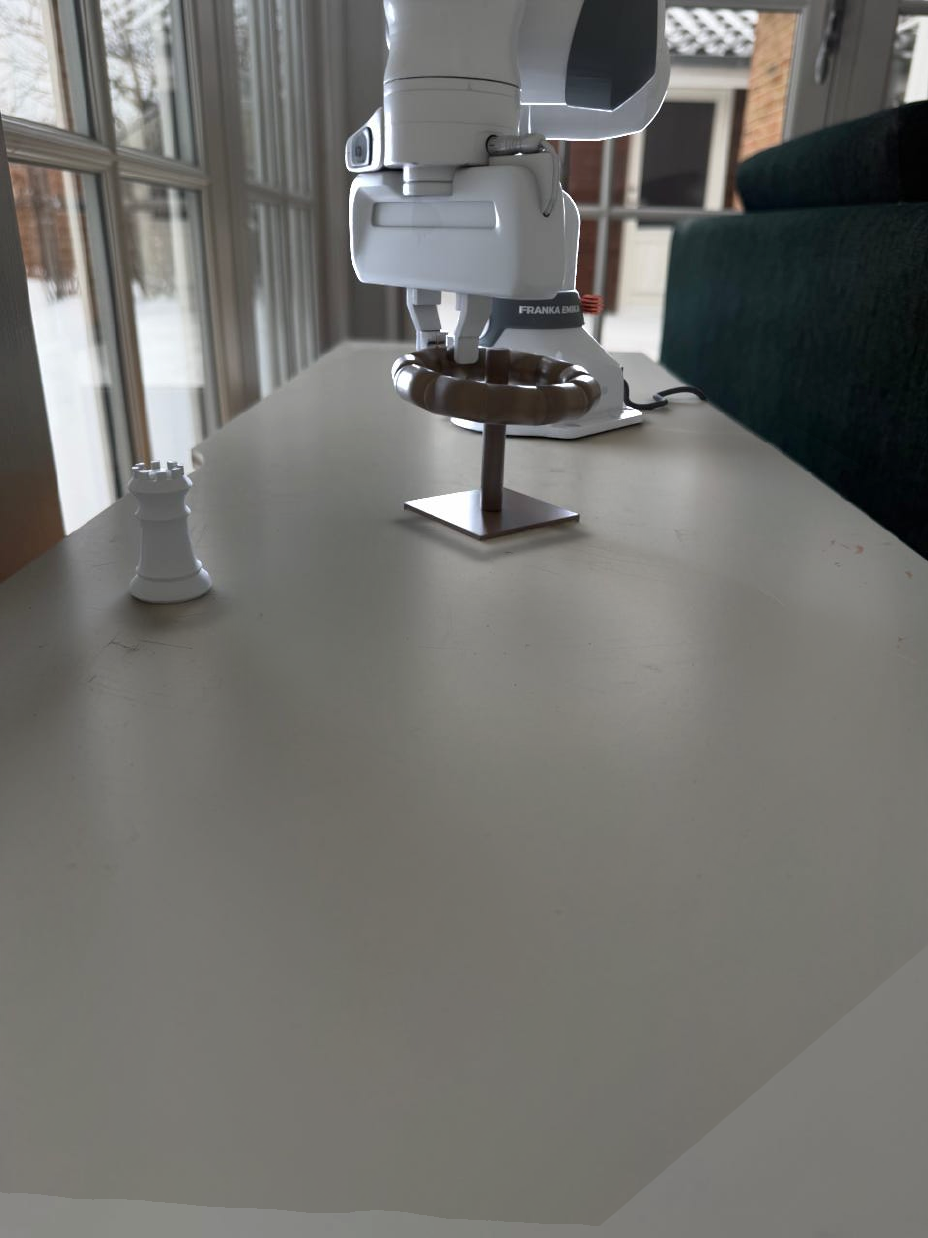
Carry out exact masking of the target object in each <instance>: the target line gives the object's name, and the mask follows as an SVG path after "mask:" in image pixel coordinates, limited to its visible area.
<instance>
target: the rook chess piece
mask: <svg viewBox="0 0 928 1238" xmlns="http://www.w3.org/2000/svg"><path fill="white" fill-rule="evenodd" d="M149 463H150V469H148V470H147V467H146V463H144V462H140V463H136V464H134V466H132V467H131V470H132V476H131V478H130V480H129V481H128V483H126V484H127V485H126V488H127V490H128V491H129V492H130V493H131V494H132V495H133V496H134V498H135V499H136V500H137V503H138V508H137V510H136V511H135V513H134V515H135V517H136V519H138V520H139V527H140V556H139V562H138V565H137V566H136V567H135V571H136V574H135V576H134V577H132V579H131V580H130V582H129V592H130V595H132V596H133V597H134V598H136V599H138V600H139V601H140V602H145V603H150V604H158V605H159V604H161V605H162V604H164V605H165V604H168V605H169V604H178V603H185V602H189V601H192V600H195V599H198V598H200V597H201V596H203V595H205V594H207V593H208V592H209V590H210V588H211V587H212V585H213V582H212V579H211V577H210V575H209V573H208V572H207V570H206V569H204V568H203V563H202V562H201V560H199V559H198V558H197V555H196V553H195V549H194V545H193V541H192V537H191V532H190V529H189V515H190V514H191V512H192V510H191V509H190V508H189V506H187V504H186V503H187V502H186V496H187V493H188V492H189V491H190V489H191V488H192V486H193V485H194V483H193V482H192V480H191V479H190V478H189V477H188V476H187V475H186V474H185V468H184V464H183V463H178V461H175V460H168V461H166V468H161V466H162V465H161V460H150V461H149Z"/></svg>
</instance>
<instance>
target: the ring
mask: <svg viewBox="0 0 928 1238" xmlns="http://www.w3.org/2000/svg"><path fill="white" fill-rule="evenodd" d="M446 351H447V347H438V348H425V349H421V350H418V351H417V350H415V351H412V352H410V353H407V354H403V355H401V356H400V357H398V358H397V359H396V360H395V362H394V363H393V365H392V368H391V377H392V382H393V387H394V391H395V392H396V394H397V396H398V397H399V398H400V399H402V400H403V401H405V402H407V403H409V404H411V405H414V406H415V407H418V408H420V409H422V410H424V411H427V412H428V413H431V414H434V415H437V416H443V417H448V418H457V419H462V420H467V421H472V422H477V423H483V424H500V425H519V426H540V425H548V424H557V423H565V422H572V421H576V420H578V419H580V418H581V417H583V416H584V415H585V414H587V413H588V412H589V411H591V410H592V409H593V408H595V407H596V406H597V404H598V403H599V401H600V398H601V388H600V385H599V384H598V382H597V381H596V380H595V379H594V378H593V377H592V376H591V375H590V374H589V373H588V372H587V371H586V370H584V369H583V368H582V367H580V366H577V365H574V364H571V363H568V362H565V361H562V360H559V359H555V358H552V357H549V356H544V355H538V354H532V353H527V352H521V351H515V350H510V359H509V380H508V384H511V385H503V384H487V383H482V382H485V360H486V348H483V347H479V354H478V360H477V361H476V362H475V363H469V364H460V363H455V362H451V361H449V360H448V359H447V357H446ZM476 381H479V382H476Z"/></svg>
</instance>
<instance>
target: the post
mask: <svg viewBox="0 0 928 1238" xmlns="http://www.w3.org/2000/svg"><path fill="white" fill-rule="evenodd" d="M509 359H510V349H508V348H502V347H490V348H486V360H485V383H487V384H503V385H508V380H509ZM506 437H507V434H506V425H500V424H483V432H482V437H481V438H482V439H481V440H482V441H481V463H480V464H481V467H480V468H481V469H480V488H479V489H472V490H467V491H462V492H456V493H449V494H444V495H439V496H432V497H428V498H427V497H426V498H422V499H417V500H412V501H411V500H410V501H405V502H403V510H404V511H406V510H410V511H412V512H414V513H415V514H419V515H420V516H423V517H425V518H428V519H430V520H432V521H434V522H436V523H438V524H440V525H442V526H445V527H448V528H450V529H452V530H454V531H456V532H459V533H461V534H463V535H466V536H468V537H470V538H473V539H475V540H477V541H480V542H482V541H487V540H490V539H495V538H500V537H504V536H509V535H515V534H518V533H519V534H520V533H523V532H527V531H532V530H536V529H542V528H545V527H551V526H555V525H559V524H565V523H568V522H569V523H570V522H573V521H574V522H577V523H580V520H581V519H580V518H581V515H580V513H577V512H573V511H571V510H568V509H566V508H563V507H561V506H557V505H556V504H552V503H549V502H546V501H543V500H541V499H538V498H535V497H532V496H530V495H527V494H524V493H521V492H518V491H515V490H513V489H510V488H508V487H506V486H504V479H505V478H504V477H505V458H506Z"/></svg>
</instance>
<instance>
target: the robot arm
mask: <svg viewBox="0 0 928 1238" xmlns="http://www.w3.org/2000/svg"><path fill="white" fill-rule="evenodd" d="M383 10H384V19H385V20H384V24H385V25H384V26H385V41H386V46H387V48H388V58H387V62H386V66H385V70H384V75H383V106H380V107H378V108H377V109H376V110H375V112H374V113H373V114H372V116H371V117H370V118H369V119H368V120H367V121H366V122H365V123H364V124H363V125H362V126H361V127H360V128H359V129H357V130H356V131H355V132H354V133H353V134H352V135H350V136H349V138H348V139H347V141H346V144H345V164H346V168H347V169H348V171H349V172H351V173H357V174H358V173H359V174H358V175H356V176H355V177H354V179H353V181H352V183H351V187H350V191H349V192H350V193H349V234H350V235H349V236H350V253H351V261H352V266H353V269H354V271H355V274H356V277H357V278H358V280H359V282H361V283H364V284H373V285H374V284H375V285H382V286H391V287H398V288H399V287H400V288H406V306H407V308H408V312H409V314H410V318H411V321H412V323H413V326H414V328H415V331H416V351H418V350H421V349H425V348H438V347H447V351H446V357H447V359H448V360H449V361H451V362H455V363H460V364H469V363H475V362H476V361H477V360H478V354H479V347H483V348H490V347H502V348H508V349H510V350H515V351H521V352H527V353H532V354H538V355H544V356H549V357H552V358H555V359H559V360H562V361H565V362H568V363H571V364H574V365H577V366H580V367H582V368H583V369H584V370H586V371H587V372H588V373H589V374H590V375H591V376H592V377H593V378H594V379H595V380H596V381H597V382H598V384H599V385H600V388H601V398H600V401H599V403H598V404H597V406H596V407H595V408H593V409H592V410H591V411H589V412H588V413H587V414H585V415H584V416H583V417H581V418H580V419H578V420H576V421H572V422H565V423H557V424H548V425H540V426H519V425H506V436H507V435H509V436H528V437H529V436H531V437H533V436H534V437H547V438H554V439H567V440H568V439H570V440H571V439H577V438H582V437H586V436H589V435H594V434H598V433H603V432H606V431H611V430H614V429H619V428H622V427H627V426H631V425H635V424H639V423H642V422H643V421H644V419H643V417H644V414H643V413H642V412H641V411H640V410H643V411H644V410H645V411H646V410H647V411H650V410H654V409H658V408H662V407H666V406H668V404H669V401H668V399H667V398H666V397H667V396H671V395H675V394H681V393H682V394H683V393H687V394H693V395H695V396H696V397H698V398H699V400H708V398H707V396H706V394H705V392H703V391H702V390H701V389H699V388H697V387H695V386H687V385H685V386H684V385H683V386H676V387H672V388H668V389H665V390H661V391H658V392H655V393H653V394H652V399H653V401H654V402H648V403H636V402H634V401H632V400H631V399H630V385H629V383H628V382H627V380H626V379H625V378H624V366H622V365H620V363H618V361H617V360H616V359H615V358H614V357H613V356H612V355H610V354H609V352H608V351H607V350H606V348H604V347H603V346H602V345H601V344H600V343H599V342H598V341H597V340H596V339H595V338H594V336H592V335H591V334H590V333H589V332H588V330H587V329H586V328H585V327H584V326H585V324H586V322H585V317H584V314H585V315H587V314H590V315H593V316H598V315H600V314H601V313H602V311H603V310H604V308H603V307H604V306H605V304H604V302H605V301H604V300H603V297H602V295H598V294H594V295H591V294H589V293H588V294H587V293H586V294H584V295H583V296H582V297H580V295H579V291H577V289H576V281H577V280H576V278H577V277H576V276H577V268H578V267H577V265H578V252H579V239H580V227H581V226H580V225H581V219H580V213H579V210H578V207H577V205H576V203H575V202H574V200H573V199H572V197H571V196H570V195H569V194H568V193H567V192H566V191H565V190H563V187H562V185H561V182H560V181H561V169H562V168H561V167H562V166H561V159H560V156H559V154H557V151H556V149H555V147H554V146H553V145H552V144H551V142H549V141H548V140H554V141H555V140H558V141H559V140H561V141H562V140H563V141H564V140H565V141H594V142H595V141H602V140H607V139H612V138H619V137H623V136H627V135H632V134H636V133H640V132H643V130H644V129H645V128H646V127H647V126H648V125H649V124H650V123H651V122H652V121H653V120H654V118H655V117H656V115H658V113H659V111H660V109H661V107H662V105H663V103H664V101H665V98H666V96H667V92H668V88H669V85H670V80H671V54H670V49H669V44H668V42H667V39H666V36H665V33H666V32H665V31H666V17H667V16H666V10H667V9H666V0H383ZM544 151H546V152H544ZM442 292H445V293H452V294H453V293H454V294H455V302H454V303H455V304H454V305H455V306H454V310H455V311H457V312H460V313H459V315H458V318H457V322H456V325H455V328H454V331H453V334H449V331H448V330H443V328H442V323H441V320H440V319H441V318H440V316H439V315H440V314H439V311H438V307H437V306H441V304H442ZM476 382H479V381H476ZM482 383H485V382H482ZM508 385H511V384H508ZM450 421H451V423H453V424H454V425H456V426H459V427H461V428H464V429H467V430H473V431H476V432H482V433H483V423H477V422H472V421H467V420H462V419H457V418H452V417H450Z"/></svg>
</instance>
